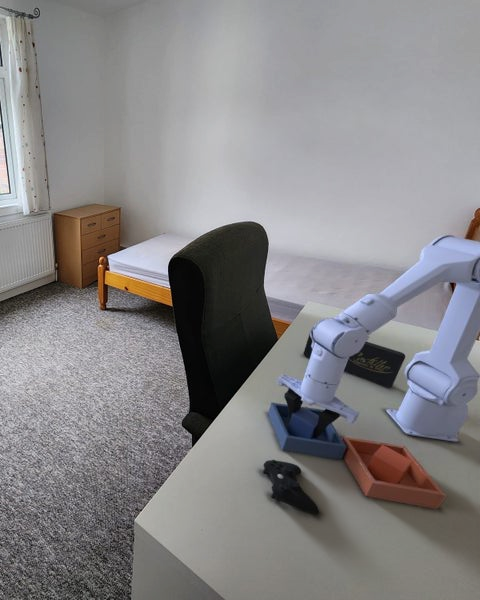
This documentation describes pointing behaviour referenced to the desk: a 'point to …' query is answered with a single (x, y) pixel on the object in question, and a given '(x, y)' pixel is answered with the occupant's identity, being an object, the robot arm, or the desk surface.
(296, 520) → the desk surface
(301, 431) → the blue block
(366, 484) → the bin
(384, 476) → the terracotta block
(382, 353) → the nameplate
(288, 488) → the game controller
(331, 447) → the blue bin
